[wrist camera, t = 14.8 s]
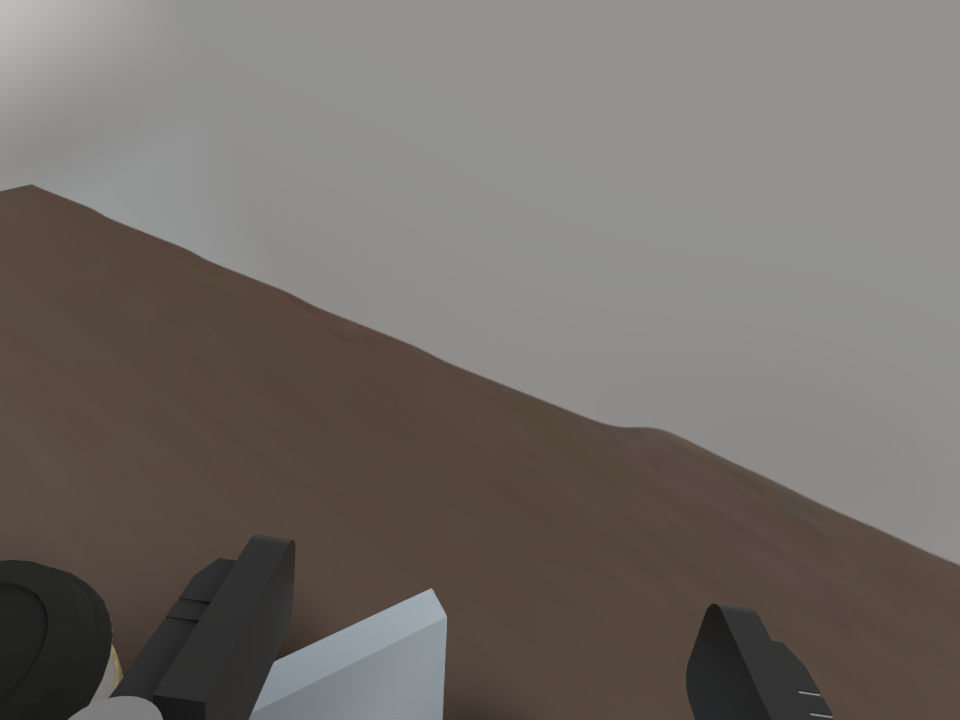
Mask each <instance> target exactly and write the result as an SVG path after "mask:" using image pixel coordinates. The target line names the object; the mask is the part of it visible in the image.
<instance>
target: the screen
mask: <svg viewBox="0 0 960 720" xmlns="http://www.w3.org/2000/svg"><path fill="white" fill-rule="evenodd" d="M446 630H447V616H446V614H445V612H444V610H443V608H442V606H441V605H440V603H439V601H438V599H437V597H436V595H435V594H434V592H433V590H432V588H431V589H429V590H427V591H425V592H423V593H420V594H418V595H416V596H414V597H412V598H410V599H408V600H405V601H403V602H401V603H399V604H397V605H395V606H393V607H390V608H388V609H386V610H384V611H382V612H380V613H378V614H375V615H373V616H371V617H369V618H367V619H365V620H363V621H360V622H358V623H356V624H354V625H352V626H350V627H348V628H345V629H343V630H341V631H339V632H337V633H335V634H333V635H330V636H328V637H326V638H324V639H322V640H320V641H318V642H315V643H313V644H311V645H309V646H307V647H305V648H303V649H300V650H298V651H296V652H294V653H292V654H290V655H288V656H285V657H283V658H281V659H279V660H277V661H275V662H274V663H273V665H272V668H271V670H270V672H269V674H268V677H267V679H266V681H265V684H264V686H263V688H262V690H261V693H260V695H259V697H258V700H257V702H256V704H255V706H254V709H253V711H252V713H251V716H250V718H249V720H442V718H443V696H444V674H445V652H446Z"/></svg>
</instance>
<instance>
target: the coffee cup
mask: <svg viewBox="0 0 960 720" xmlns="http://www.w3.org/2000/svg"><path fill="white" fill-rule="evenodd" d="M112 638H113V632H112V624H111V616H110V614H109V612H108V609H107V607H106V605H105V602H104V600H103V599H102V598H101V597H100V596H99V595H98V593H97V592H96V591H95V590H94V589H93V588H92V587H91V586H90V585H88V584H87V583H86V582H84V581H83V580H81V579H79V578H78V577H76V576H74V575H73V574H71V573H68V572H64V571H61V570H58V569H55V568H50V567H48V566H44V565H41V564H38V563H34V562H29V561H17V560H8V561H0V720H68V719H69V718H70V717H72V716H73V715H74V714H76V713H77V712H79V711H80V710H82V709H84V708H86V707H87V706H89V705H91V704H94V703H96V702H98V701H101V700H105V699H108V697H109V696H110V695H111V694H112V692H113V691H114V690H115V688H116V687H117V686H118V684H119V683H120V681H121V680H122V678H123V677H124V675H123V672H122V668H121V665H120V662H119V659H118V656H117V654H116V652H115V649H114V647H113V645H112Z"/></svg>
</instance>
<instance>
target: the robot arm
mask: <svg viewBox="0 0 960 720" xmlns="http://www.w3.org/2000/svg"><path fill="white" fill-rule="evenodd" d="M294 567H295V542H294V540H289V539H282V538H275V537H268V536H262V535H254V536H253V537H252V538H251V539H250V540H249V542H248V544H247V545H246V547H245V548H244V550H243V552H242V553H241V555H240V556H239V558H238V560H237V561H235V560H228V559H221V558H219V559H217V560H216V561H214V562H213V563H212V564H210V565H209V566H207V567H206V568H205V569H203V570H202V571H200V572H199V573H197V574H196V575H195V576H194V577H193V579H192V580H191V581H190V583H189V584H188V586H187V587H186V589H185V590H184V591H183V593H182V594H181V596H180V597H179V601H178V602H176V603H175V604H174V606H173V607H172V608H171V610H170V611H169V613H168V614H167V616H166V619H165V621H162V623H161V624H160V626H159V627H158V628H157V630H156V631H155V633H154V634H153V636H152V637H151V638H150V640H149V641H148V643H147V644H146V646H145V647H144V648H143V650H142V651H141V653H140V654H139V656H138V657H137V658H136V660H135V661H134V663H133V664H132V666H131V667H130V668H129V670H128V671H127V673H126V674H125V676H124V677H123V678H122V680H121V681H120V683H119V684H118V686H117V687H116V688H115V690H114V691H113V692H112V694H111V695H110V696H109V697H108V699H105V700H101V701H98V702H96V703H94V704H91V705H89V706H87V707H86V708H84V709H82V710H80V711H79V712H77V713H76V714H74V715H73V716H72V717H70V718H69V719H68V720H249V718H250V716H251V713H252V711H253V709H254V706H255V704H256V702H257V700H258V697H259V695H260V693H261V690H262V688H263V686H264V684H265V681H266V679H267V677H268V674H269V672H270V670H271V668H272V665H273V663H274V661H275V658H276V656H277V654H278V651H279V649H280V647H281V645H282V642H283V640H284V638H285V635H286V632H287V629H288V625H289V621H290V617H291V612H292V604H293V587H294ZM686 686H687V694H688V698H689V702H690V705H691V708H692V711H693V714H694V717H695V720H833V719H832V713H831V711H830V709H829V708H828V706H827V704H826V702H825V701H824V699H823V698H821V697H820V692H819V690H818V688H817V686H816V685H815V683H814V681H813V679H812V677H811V676H810V674H809V672H808V670H807V669H806V667H805V666H804V665H803V664H802V663H801V661H800V660H799V659H798V658H797V657H796V656H795V655H794V654H793V653H792V652H791V651H790V650H789V649H788V648H787V647H786V646H785V645H784V644H783V643H782V642H776V641H772V640H771V638H770V637H769V635H768V633H767V631H766V629H765V627H764V625H763V623H762V621H761V619H760V617H759V616H758V614H757V613H756V612H755V611H754V610H752V609H747V608H741V607H734V606H727V605H720V604H711V605H710V606H709V607H708V609H707V611H706V613H705V616H704V619H703V622H702V625H701V628H700V630H699V633H698V636H697V639H696V642H695V645H694V648H693V650H692V653H691V656H690V659H689V662H688V666H687V673H686Z"/></svg>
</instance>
